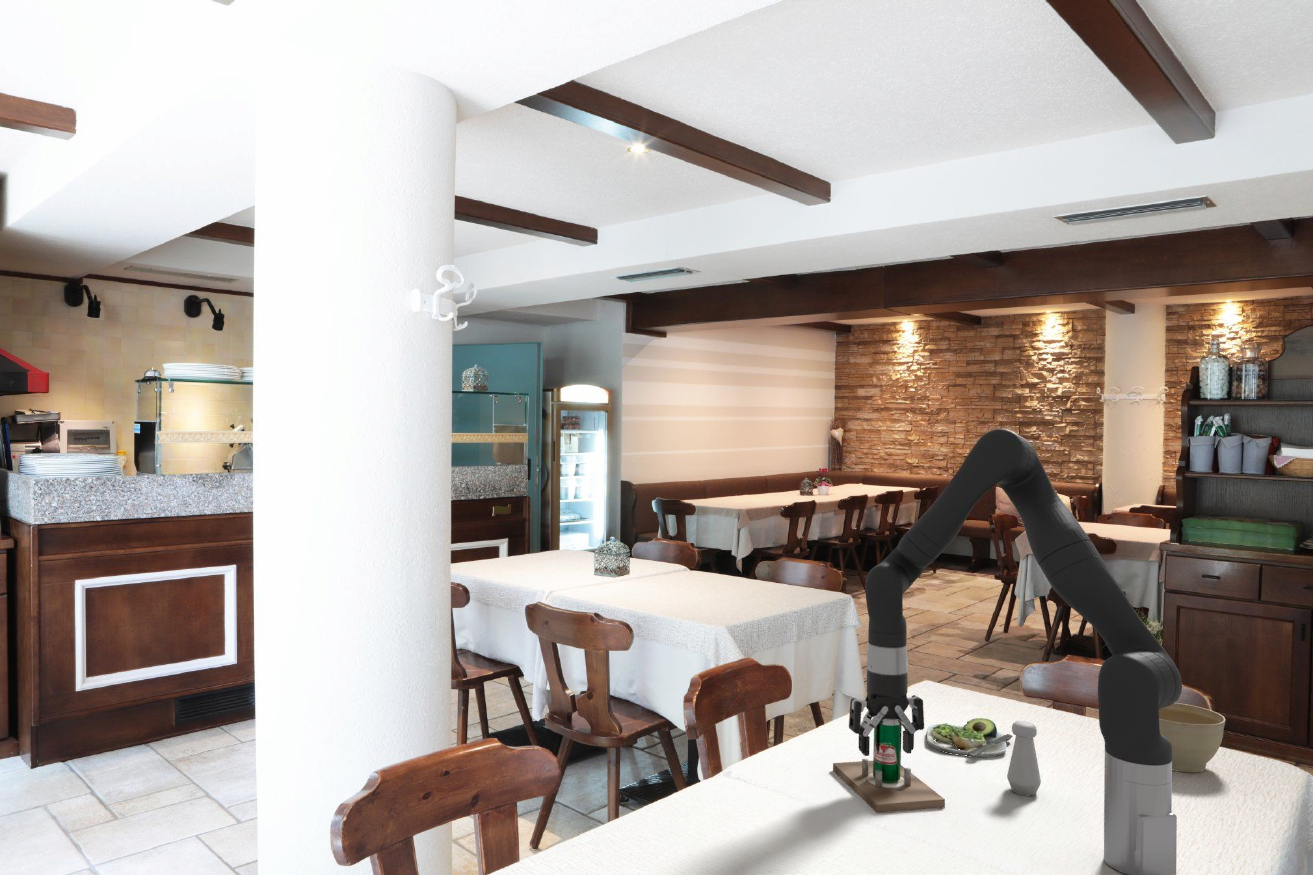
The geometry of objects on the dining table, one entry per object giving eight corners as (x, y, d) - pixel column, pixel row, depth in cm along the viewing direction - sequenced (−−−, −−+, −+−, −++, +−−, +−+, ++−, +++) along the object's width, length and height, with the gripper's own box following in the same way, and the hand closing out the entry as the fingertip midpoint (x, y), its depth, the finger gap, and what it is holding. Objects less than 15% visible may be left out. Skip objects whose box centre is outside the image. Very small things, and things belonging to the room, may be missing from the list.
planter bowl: (1243, 773, 174) (1244, 719, 174) (1186, 784, 168) (1187, 728, 168) (1170, 747, 189) (1170, 696, 189) (1115, 756, 183) (1115, 704, 183)
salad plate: (1014, 769, 176) (1014, 746, 176) (922, 756, 183) (922, 734, 183) (1012, 739, 194) (1012, 718, 195) (928, 728, 201) (928, 708, 201)
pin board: (944, 807, 157) (945, 782, 157) (877, 812, 154) (877, 787, 154) (893, 766, 176) (893, 744, 176) (832, 770, 174) (833, 747, 174)
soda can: (869, 780, 164) (871, 717, 164) (876, 772, 169) (877, 710, 169) (897, 786, 162) (898, 721, 162) (903, 777, 166) (904, 714, 166)
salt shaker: (1043, 799, 161) (1044, 728, 161) (1010, 796, 162) (1011, 726, 162) (1036, 786, 166) (1037, 718, 167) (1004, 784, 168) (1005, 716, 168)
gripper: (860, 674, 160) (859, 762, 160) (931, 671, 163) (930, 758, 163) (843, 664, 168) (843, 748, 168) (912, 661, 170) (911, 744, 170)
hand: (886, 753), depth 165 cm, fingers open, 8 cm apart
